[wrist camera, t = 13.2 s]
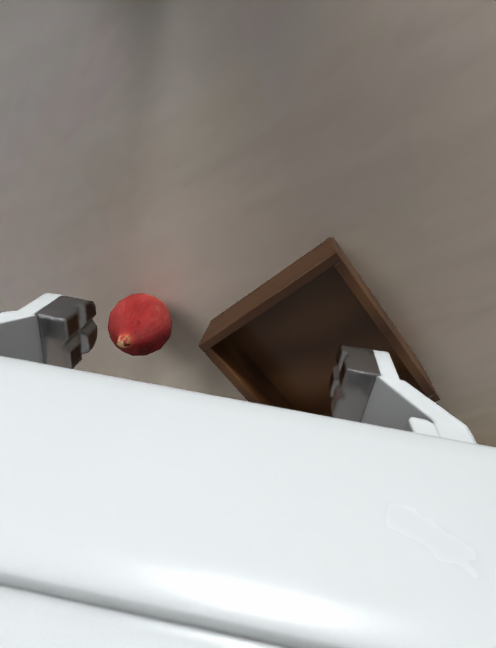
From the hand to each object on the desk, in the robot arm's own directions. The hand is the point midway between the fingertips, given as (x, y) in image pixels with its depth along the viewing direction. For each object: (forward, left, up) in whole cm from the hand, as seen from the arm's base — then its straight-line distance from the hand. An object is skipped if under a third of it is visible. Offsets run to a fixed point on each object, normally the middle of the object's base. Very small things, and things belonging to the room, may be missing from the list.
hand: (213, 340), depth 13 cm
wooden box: (+13, -4, -24) cm, 28 cm away
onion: (+1, -16, -24) cm, 29 cm away
